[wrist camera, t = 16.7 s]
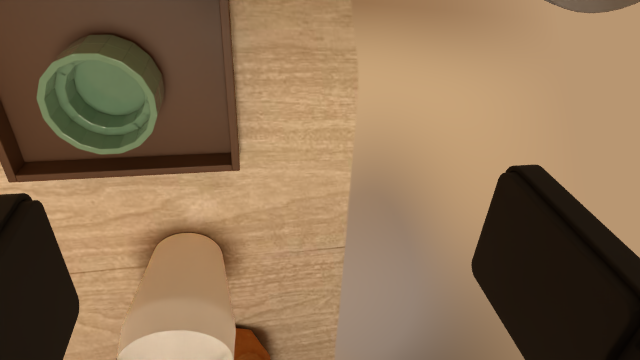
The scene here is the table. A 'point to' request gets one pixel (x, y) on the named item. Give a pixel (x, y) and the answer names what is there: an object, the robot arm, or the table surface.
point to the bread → (248, 346)
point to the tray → (169, 56)
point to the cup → (181, 305)
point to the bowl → (101, 94)
